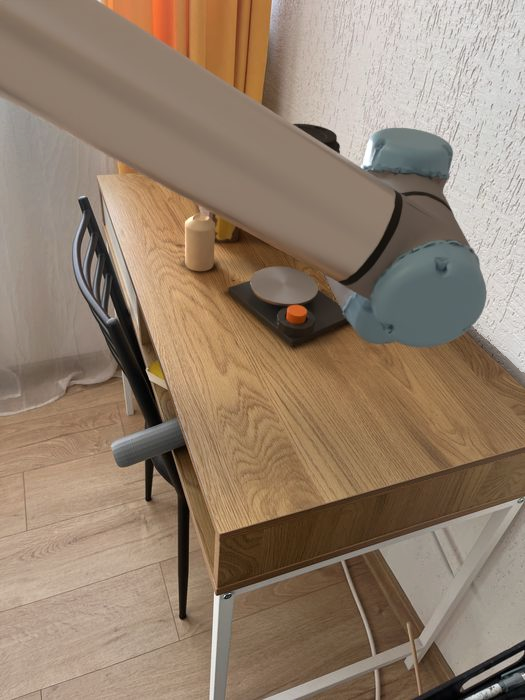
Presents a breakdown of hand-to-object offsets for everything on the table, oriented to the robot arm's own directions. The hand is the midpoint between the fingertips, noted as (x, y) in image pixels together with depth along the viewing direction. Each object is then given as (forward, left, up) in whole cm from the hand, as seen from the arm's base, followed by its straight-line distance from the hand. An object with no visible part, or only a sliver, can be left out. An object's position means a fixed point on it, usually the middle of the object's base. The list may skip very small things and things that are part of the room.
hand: (293, 170), depth 79 cm
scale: (+2, +1, -24) cm, 24 cm away
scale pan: (0, +1, -21) cm, 21 cm away
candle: (-18, -5, -24) cm, 30 cm away
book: (-33, +9, -24) cm, 42 cm away
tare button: (+8, -3, -21) cm, 23 cm away
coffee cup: (+4, -2, -8) cm, 9 cm away
